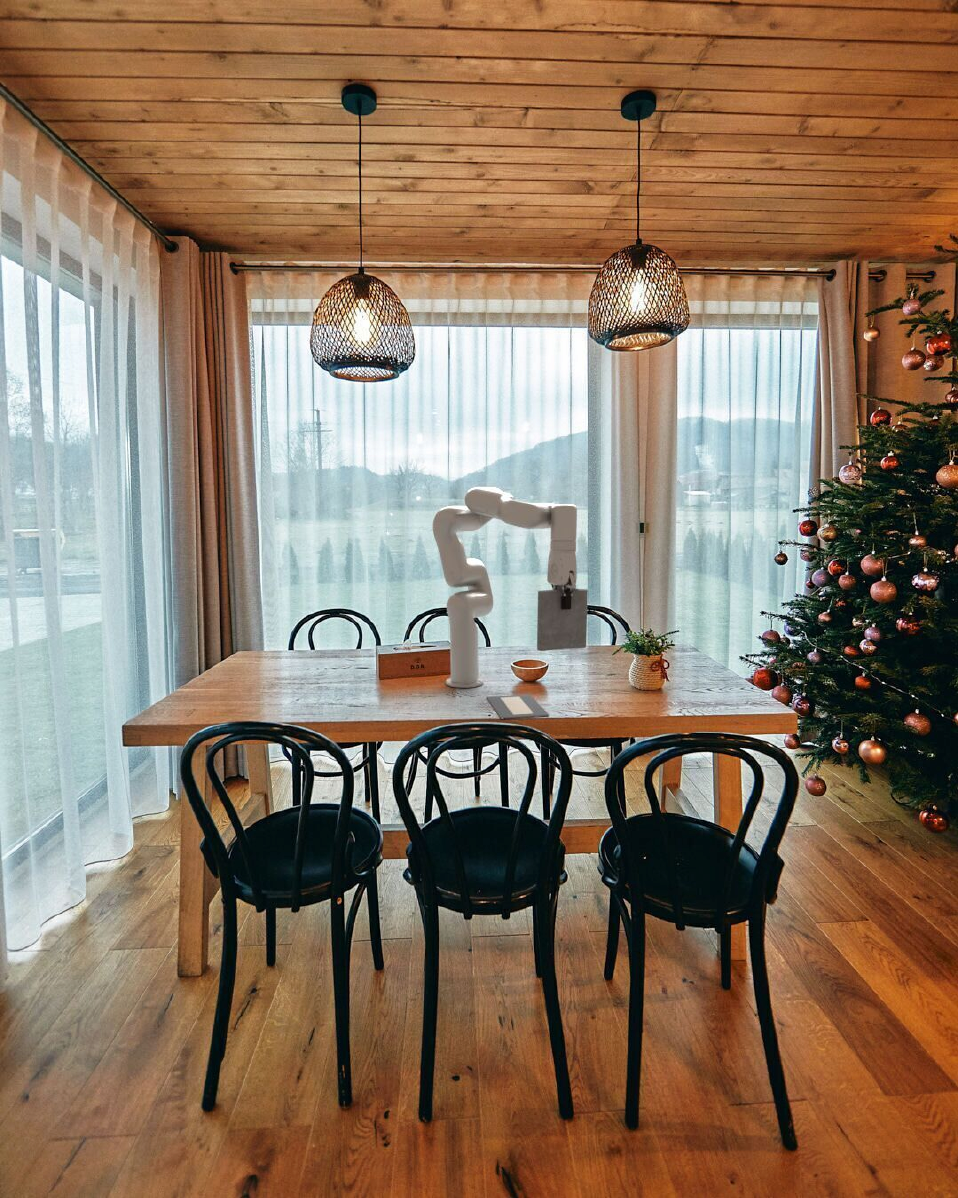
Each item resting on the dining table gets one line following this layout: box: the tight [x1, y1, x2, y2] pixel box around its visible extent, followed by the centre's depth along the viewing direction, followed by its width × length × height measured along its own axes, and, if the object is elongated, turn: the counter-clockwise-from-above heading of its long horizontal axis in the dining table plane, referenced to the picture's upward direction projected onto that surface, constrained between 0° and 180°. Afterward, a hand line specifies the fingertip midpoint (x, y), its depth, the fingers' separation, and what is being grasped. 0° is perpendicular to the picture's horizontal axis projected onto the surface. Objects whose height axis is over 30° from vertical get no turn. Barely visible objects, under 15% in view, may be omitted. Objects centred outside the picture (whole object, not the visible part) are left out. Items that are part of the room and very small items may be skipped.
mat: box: [486, 694, 550, 720], centre depth 207 cm, size 22×14×1 cm, turn 10°
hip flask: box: [536, 583, 589, 652], centre depth 205 cm, size 16×4×20 cm, turn 109°
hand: (562, 607), depth 205 cm, fingers closed on hip flask, 4 cm apart
